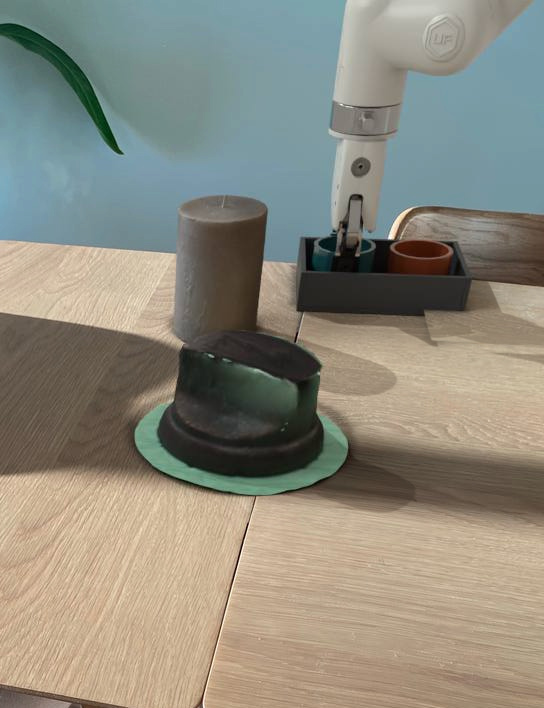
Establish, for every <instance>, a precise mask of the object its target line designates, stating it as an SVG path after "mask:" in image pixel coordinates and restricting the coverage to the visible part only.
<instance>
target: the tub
mask: <svg viewBox="0 0 544 708" xmlns="http://www.w3.org/2000/svg"><path fill="white" fill-rule="evenodd" d="M322 237H323V236H300V237H299V245H298V253H297V254H298V255H297V261H296V269H295V310H296V311H297V312H317V313H318V312H319V313H341V314H343V313H344V314H367V315H368V314H369V315H388V316H389V315H392V316H416V317H418V316H419V317H425V316H426V315H425V311H448V312H449V311H450V312H466V311H465V310H466V307H467V303H468V298H469V295H470V290H471V286H472V282H473V277H472V274H471V272H470V269H469V267H468V264H467V261H466V260H465V256H464V253H463V252H462V249H461V246H460V244H459V241H457V240H436V241H437V242H440V243H443V244H446V245H448V246H449V247H451V248H452V250H453V256H452V261H451V265H450V270H449V274H448V276H440V275H411V274H385V270H386V265H387V259H388V254H389V248H390V246H391V245H392V244H393V243H395V242H398V241H401V240H402V239H399V238H398V239H393V238H368V239H369V240H371V241H372V242H374V243H375V245H376V250H375V256H374V262H373V267H372V273H352V272H323V271H310V270H311V263H312V255H313V248H314V242H315V241H316V240H317V239H319V238H322ZM431 241H434V240H431Z"/></svg>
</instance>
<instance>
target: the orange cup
mask: <svg viewBox="0 0 544 708" xmlns="http://www.w3.org/2000/svg"><path fill="white" fill-rule="evenodd" d="M400 240H401V241H398V242H395V243H393V244H392V245H391V246H390V248H389V254H388V259H387V265H386V270H385V274H411V275H440V276H448V274H449V270H450V265H451V261H452V256H453V250H452V248H451V247H449V246H448V245H446V244H443V243H440V242H437V241H438V240H433V241H431V240H429V239H421V238H420V239H419V238H418V239H417V238H412V239H400Z"/></svg>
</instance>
